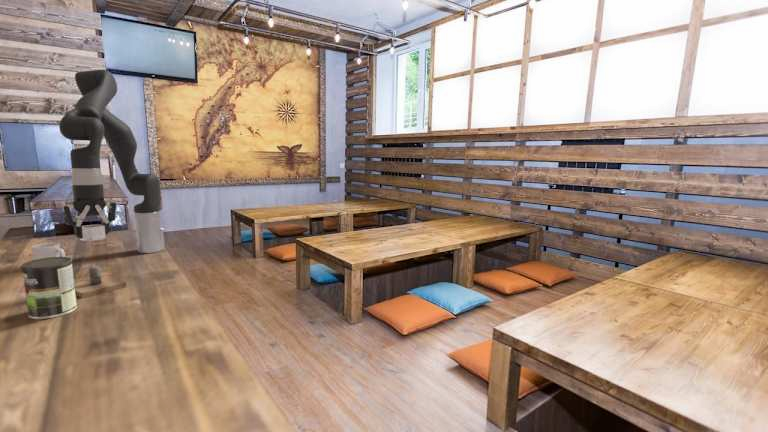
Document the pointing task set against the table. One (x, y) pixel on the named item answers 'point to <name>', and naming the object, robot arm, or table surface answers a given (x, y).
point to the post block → (97, 284)
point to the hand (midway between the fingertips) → (92, 236)
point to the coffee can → (49, 287)
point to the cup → (47, 250)
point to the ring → (93, 232)
